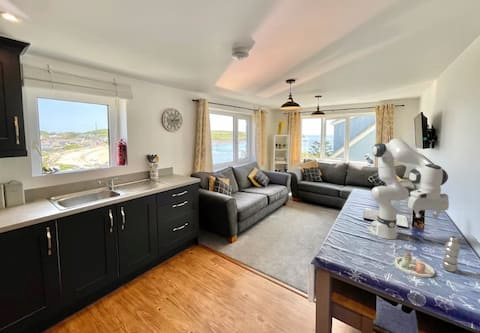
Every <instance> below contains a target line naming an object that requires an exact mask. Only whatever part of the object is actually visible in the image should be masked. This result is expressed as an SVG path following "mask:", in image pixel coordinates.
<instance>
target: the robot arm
mask: <svg viewBox="0 0 480 333" xmlns="http://www.w3.org/2000/svg"><path fill="white" fill-rule="evenodd" d="M372 155H373V156H374V157H376V158H377V170H378V171H377V173H378V179H379V180H381V181H382V182H383V183H385V185H378V186H375V187H373V188H372V189H371V192H370V194H371V197H372V199H374V200H375V201H376V203H377V204H378V207H379V209H378V215H377V217H376V219H375V220H373V221H372V222H371V223H370V225H368V226H367V228H366V229H367V230H368V231H369V232H370V233H371V234H372V235H373V236H375V237H379V238H381V239H387V240H396V239H397V238H398V236H399V233H398V225H397V213H398V210H397V208H396V207H395V206H394V205H392V203H391V202H394V201H397V202H400V201H406V200H407V199H408V202H407V208H408V209H409V210H411V211H414V213H415V217H416V218H418V219H419V218H421V217H422V214H420V213H419V212H421V211H435V212H434V213H432V217H433V218H434V219H435V218H439V215H440V214H441V211H448V210H449V207H450V206H449V204H450V201H449V195H448V194H446V193H441V192H442V187H441V186H443V185H444V184H446V183H447V181H448V179H449V175H448V173H447V171H446V170H445V169H444V168H443V167H442V166H440V165H439V164H435V163H434V162H432V161H431V159H429V158H428V157H426V156H425V155H424V154H422V153H419V152H417V151H416V150H414V149H413V148H412V147H410V145H409V144H408V143H407V142H406V141H404V140H403V139H401V138H398V137H396V138H392V139H391V140H390V141H388V142H380V143H379V142H378V143H376V144H374V145H373V146H372ZM395 160H396V161H397V162H399V163H404V164H411V165H416V166H418V167H416V168H412V169H411V170H410V171H408V172H409V173H408V180H409V181H410V182H411V183H412V184H414V185H419V186H420V187H419V189H415V190H412V191H410V192H409V190H408V189H407V187H405V186H404V185H403V184H401V182H400V181H399V179H398V175H397V173H396V166H395Z"/></svg>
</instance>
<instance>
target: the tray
mask: <svg viewBox="0 0 480 333" xmlns="http://www.w3.org/2000/svg"><path fill="white" fill-rule="evenodd" d="M402 258H404V256H399V257H396V258H395V259H394V265H395V267H397V269H399V270H400V271H402V272H405V273H406V274H408V275H410V276H411V275H412V276H414V277H418V278H425V279H426V278H432V277H434V276H435V275H436V272H435V270H434V267H432V266H431V265H429V264H428V263H427V262H424V261H422V260H420V259H417V258H413V257H412V258H411V264H410V265H409V269H404V268H402V267H401V265H402ZM417 263H423V264H424V265H425V273H424V274H418V273H417V272H416V269H417Z"/></svg>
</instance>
